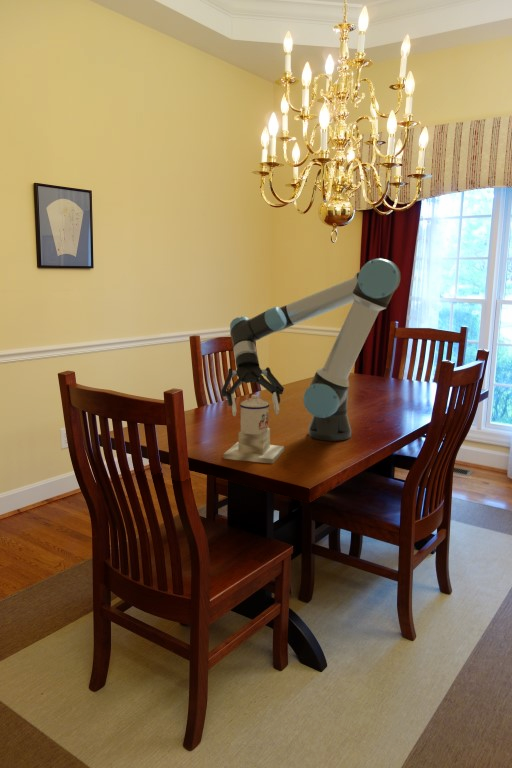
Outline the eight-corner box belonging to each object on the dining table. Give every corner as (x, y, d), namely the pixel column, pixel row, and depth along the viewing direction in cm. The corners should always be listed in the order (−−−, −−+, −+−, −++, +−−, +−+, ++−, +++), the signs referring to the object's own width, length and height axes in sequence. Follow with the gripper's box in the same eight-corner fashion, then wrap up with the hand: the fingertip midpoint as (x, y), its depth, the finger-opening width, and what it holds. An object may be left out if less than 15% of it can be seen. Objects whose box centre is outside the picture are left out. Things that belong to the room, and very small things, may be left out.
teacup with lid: (263, 436, 177) (264, 398, 175) (235, 433, 180) (235, 396, 178) (275, 426, 188) (275, 391, 186) (248, 424, 191) (248, 389, 189)
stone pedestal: (284, 450, 190) (284, 426, 189) (272, 463, 177) (273, 438, 175) (237, 446, 195) (237, 422, 193) (223, 458, 181) (223, 433, 180)
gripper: (280, 363, 198) (292, 417, 187) (207, 365, 193) (215, 420, 181) (285, 350, 192) (297, 404, 181) (210, 352, 187) (218, 408, 175)
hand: (256, 412), depth 181 cm, fingers open, 13 cm apart
